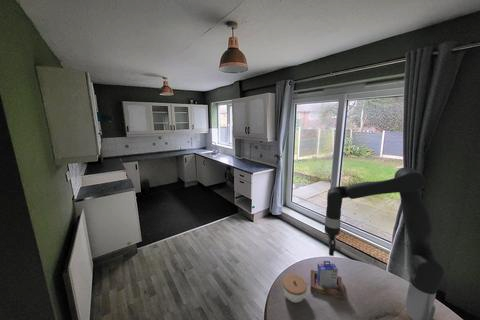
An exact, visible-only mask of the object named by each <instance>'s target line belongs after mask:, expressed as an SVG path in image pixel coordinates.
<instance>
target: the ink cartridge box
mask: <svg viewBox="0 0 480 320" xmlns="http://www.w3.org/2000/svg"><path fill="white" fill-rule="evenodd" d="M316 271H317V283H318V286H322V287H326V288H336V286H337V276H339V274H338V273H339V269H338V268H337V266H336V264H335V263H331V261H330V260H324V261H323V263H317V270H316Z"/></svg>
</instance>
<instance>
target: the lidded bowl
mask: <svg viewBox="0 0 480 320" xmlns="http://www.w3.org/2000/svg"><path fill="white" fill-rule="evenodd" d="M307 286H308V285H307V282H306V281H305V279H304V278H303V277H302V276H300V275H298V274H293V273H290V274H286V275H285V276H284V277H283V279H282V289H283V290H282V292H283V293H284V295H285V298H287V300H289V301H290V302H291V303H293V302H294V303H293V304H298V303H301V302H302V301H304V300H305V297H306V294H307V288H308V287H307Z"/></svg>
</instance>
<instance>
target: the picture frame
mask: <svg viewBox="0 0 480 320" xmlns="http://www.w3.org/2000/svg"><path fill="white" fill-rule="evenodd" d="M309 288H310V290H309V291H310V292H312V293H314V294H318V295H321V296H324V297H325V296H326V297H329V298H333V299H335V300H339V301H343V302H345V290H344V284H343V279H342V276H340V275H337V286H336V288H326V287H322V286H318V283H317V270H313V269H311V270H310V287H309Z"/></svg>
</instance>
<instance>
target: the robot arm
mask: <svg viewBox="0 0 480 320" xmlns="http://www.w3.org/2000/svg"><path fill="white" fill-rule="evenodd" d="M426 184H427V180H426V177H425V176H424V175H423V174H422V173H420V172H419V171H418V170H417V169H414V168H411V167H408V166H405V167H401V168H398V169H397V170H396V172H395V173H394V177H393V178H389V179H385V180H378V181H375V180H374V181H362V182H357V183H354V184H349V185H341V186H340V185H339V186H334V187H333V186H332V187H331V188H329V189H328V190H327V195H326V198H327V199H326V210H325V211H326V212H325V219H324V231H325V233H326V235H327V237H326V238H327V246H328V249H329V250H328V255H329V256H330V257H334V256H335V252H336V240H337V237H336V236H339V235H340V233H341V223H342V222H341V220H342V219H341V215H342V204H343V199H347V198H349V199H351V200H357V199H359V198H360V199H361V198H366V197H371V196H377V195H378V196H379V195H385V194H386V195H387V194H394V193H397V194H398V193H399V197H400V202H401V210H402V211H401V212H402V216H403V217H402V218H403V223H404V226H405V229H406V230H405V231H406V234H407V236H408V237H407V238H408V240H409V244H410V258H411V259H410V260H411V262H412V264H413V266H414V267H415V269H416V271H415V273H413V274H411V276H410V279H409V283H408V289H407V293H406V299H405V304H404V312H405V314H406V315H407V316H408V317H409V318H410V319H411V320H434V316H435V312H436V306H435V301H436V295H437V292H438V291H439V290H440V288H441V287H442V284H443V281H444V280H443V279H444V277H445V269H444V268H443V265H442V264H441V263H440V262H439V261H438V260H437V259H436V257H435V255H434V253H433V250H432V247H431V246H432V245H431V238H432V234H433V223H432V219H431V216H430V213H429V211H428V208H427V207H426V204H425V202H424V200H423V198H422V194H421V191H420V190H422V189H423V188H425V186H426Z"/></svg>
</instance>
